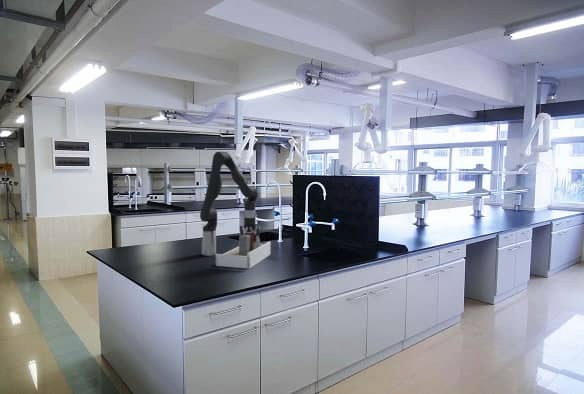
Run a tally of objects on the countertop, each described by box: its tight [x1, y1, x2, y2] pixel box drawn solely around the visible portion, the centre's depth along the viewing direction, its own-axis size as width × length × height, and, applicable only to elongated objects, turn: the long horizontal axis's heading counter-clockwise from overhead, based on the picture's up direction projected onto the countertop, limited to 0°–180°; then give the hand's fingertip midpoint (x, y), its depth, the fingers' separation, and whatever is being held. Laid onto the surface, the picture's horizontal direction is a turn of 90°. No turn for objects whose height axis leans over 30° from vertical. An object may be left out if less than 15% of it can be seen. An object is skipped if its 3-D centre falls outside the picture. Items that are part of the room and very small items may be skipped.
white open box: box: [215, 241, 272, 269], centre depth 246 cm, size 22×40×10 cm, turn 165°
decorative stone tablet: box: [238, 232, 261, 256], centre depth 245 cm, size 19×6×30 cm
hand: (249, 241), depth 244 cm, fingers closed on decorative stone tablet, 6 cm apart
